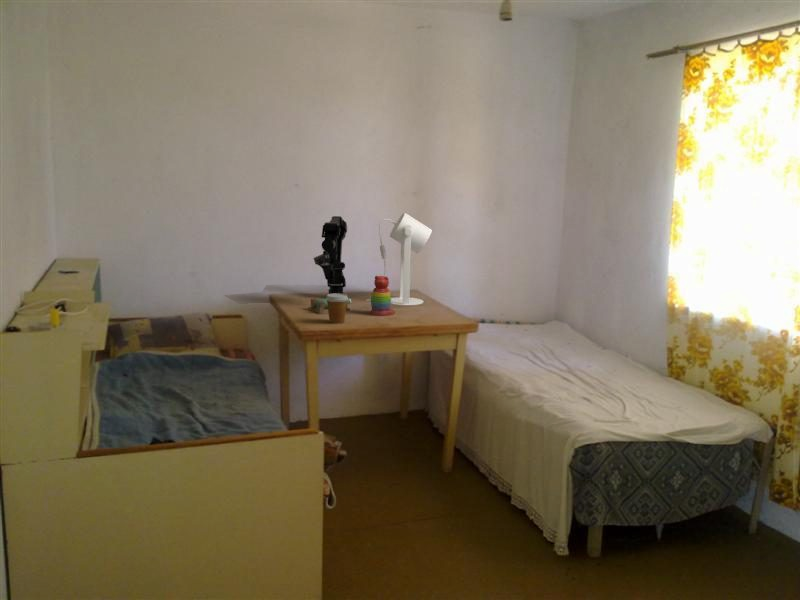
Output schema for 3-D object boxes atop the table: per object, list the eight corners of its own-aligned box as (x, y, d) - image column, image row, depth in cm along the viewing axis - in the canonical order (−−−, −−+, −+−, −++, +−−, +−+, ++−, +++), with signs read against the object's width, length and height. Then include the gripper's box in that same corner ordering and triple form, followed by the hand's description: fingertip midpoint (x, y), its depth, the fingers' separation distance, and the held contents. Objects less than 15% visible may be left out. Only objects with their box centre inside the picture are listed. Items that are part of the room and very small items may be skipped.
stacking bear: (396, 312, 305) (397, 275, 302) (386, 317, 296) (387, 278, 293) (375, 310, 310) (376, 273, 306) (365, 314, 301) (366, 276, 297)
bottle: (320, 309, 303) (320, 300, 303) (316, 308, 307) (315, 299, 306) (352, 306, 312) (352, 297, 312) (347, 305, 316) (347, 296, 315)
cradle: (338, 306, 318) (338, 296, 317) (349, 310, 308) (350, 300, 307) (308, 309, 309) (308, 298, 308) (319, 314, 299) (319, 303, 298)
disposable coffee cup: (326, 319, 289) (326, 293, 286) (347, 319, 290) (348, 293, 287) (325, 324, 279) (325, 297, 277) (347, 324, 280) (348, 297, 278)
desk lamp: (432, 305, 323) (435, 214, 314) (367, 305, 320) (368, 213, 311) (426, 297, 343) (429, 211, 335) (366, 297, 341) (367, 210, 332)
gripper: (307, 247, 318) (307, 279, 321) (324, 251, 303) (324, 285, 306) (328, 246, 324) (328, 277, 327) (345, 250, 308) (345, 283, 311)
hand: (331, 280), depth 318 cm, fingers open, 9 cm apart
